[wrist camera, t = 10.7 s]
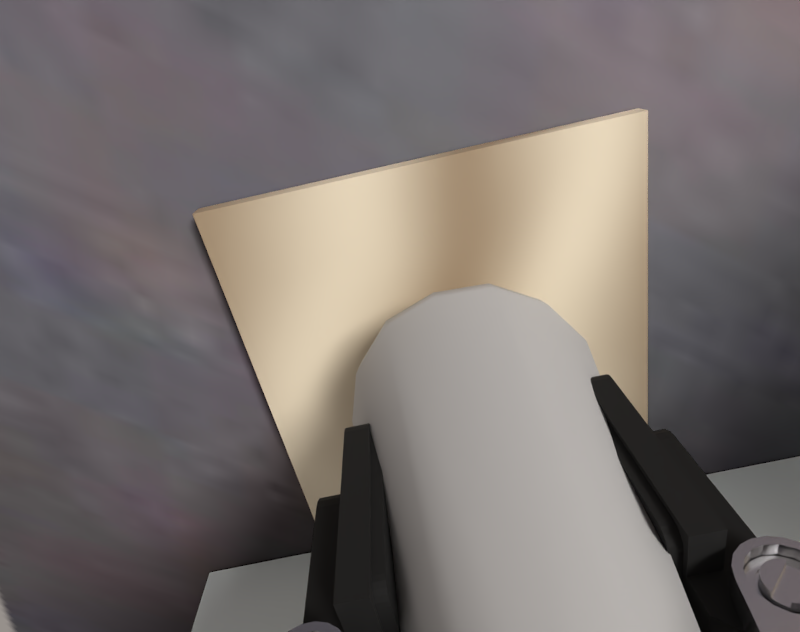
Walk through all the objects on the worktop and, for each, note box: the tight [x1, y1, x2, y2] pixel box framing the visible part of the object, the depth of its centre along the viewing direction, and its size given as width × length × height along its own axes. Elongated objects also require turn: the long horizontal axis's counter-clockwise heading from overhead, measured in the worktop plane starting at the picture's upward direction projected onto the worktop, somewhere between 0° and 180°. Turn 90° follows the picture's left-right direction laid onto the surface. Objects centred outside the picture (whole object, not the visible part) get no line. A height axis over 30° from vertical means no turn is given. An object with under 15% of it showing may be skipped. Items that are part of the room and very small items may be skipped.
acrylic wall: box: [191, 456, 800, 632], centre depth 16 cm, size 24×2×5 cm, turn 102°
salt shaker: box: [352, 283, 701, 632], centre depth 9 cm, size 6×6×13 cm
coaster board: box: [193, 108, 648, 520], centre depth 15 cm, size 11×11×1 cm
